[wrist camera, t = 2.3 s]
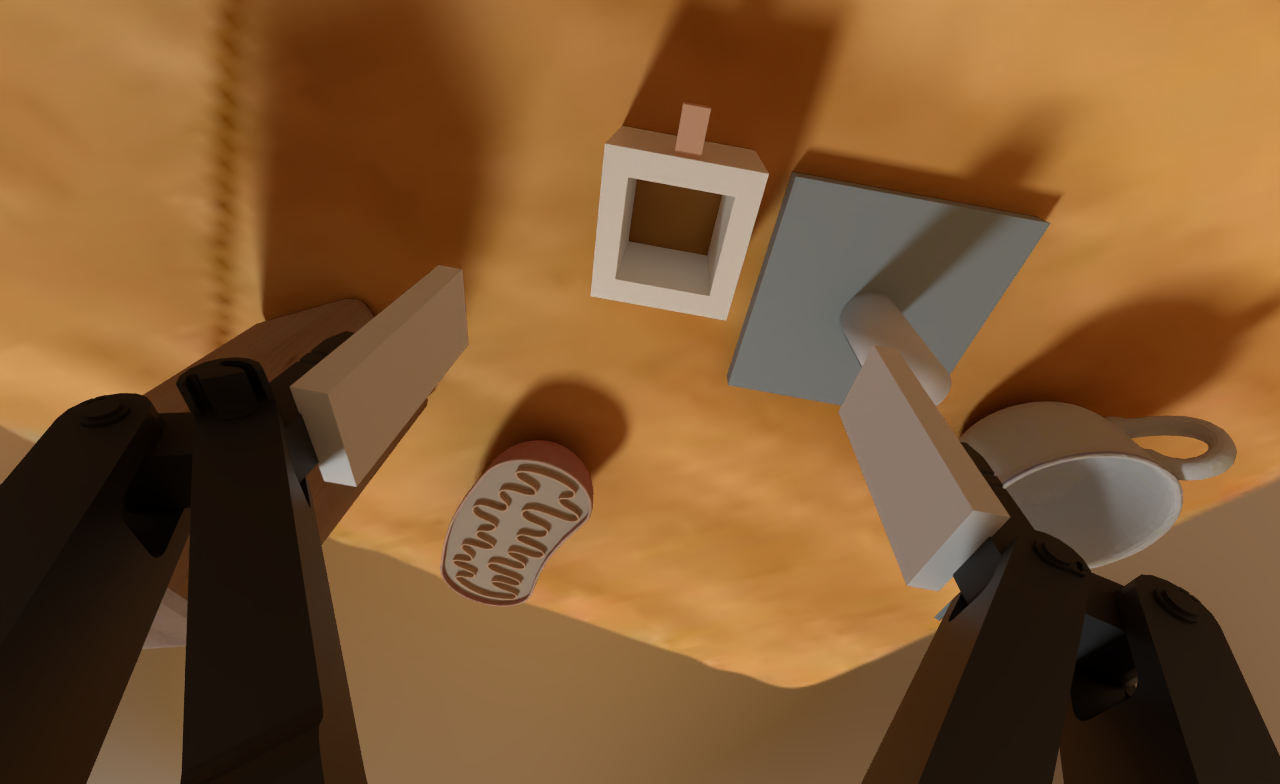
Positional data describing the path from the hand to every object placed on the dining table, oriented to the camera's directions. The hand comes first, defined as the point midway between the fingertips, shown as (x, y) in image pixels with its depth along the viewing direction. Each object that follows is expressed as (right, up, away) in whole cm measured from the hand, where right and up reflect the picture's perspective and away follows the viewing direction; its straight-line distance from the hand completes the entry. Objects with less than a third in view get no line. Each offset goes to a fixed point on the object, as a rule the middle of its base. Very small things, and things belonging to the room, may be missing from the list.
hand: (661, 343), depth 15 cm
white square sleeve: (+2, +10, +12) cm, 16 cm away
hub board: (+14, +4, +15) cm, 21 cm away
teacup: (+28, -4, +20) cm, 35 cm away
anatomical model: (-12, -12, +30) cm, 35 cm away
